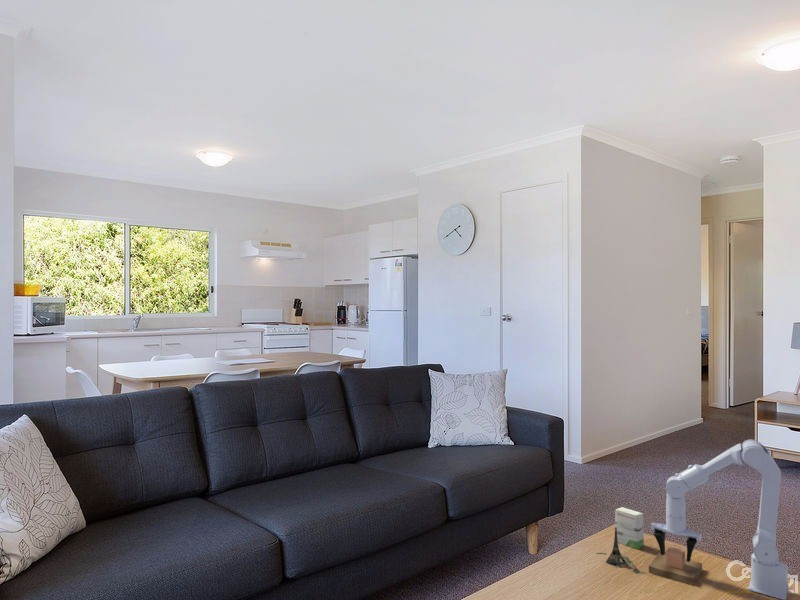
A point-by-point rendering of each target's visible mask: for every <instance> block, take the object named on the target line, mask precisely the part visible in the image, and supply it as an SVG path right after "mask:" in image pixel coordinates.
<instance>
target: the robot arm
mask: <svg viewBox="0 0 800 600" xmlns="http://www.w3.org/2000/svg"><path fill="white" fill-rule="evenodd" d="M744 463H745V464H746V465H748V466H749V467H751V468H753V469H755V470H756V471H757V472H758V473H759V474H760V475H761V477H762V480H761V488H760V490H761V491H760V501H759V511H758V520H757V528H756V532H755V534H754V535H753V536H752V538H751V539H752V540H751V544H752V546H753V553H751V555H750V581H749V584H748V587H747V590H748V591H749V592H750V591H751V592H754V593H757V594H761V595H765V596H769V597H773V598H776V599H779V600H787V596H788V591H789V584H788V583H789V569H788V568H789V566H788V564H785V563H782V562H781V561H780V559H779V557H780V554H779V550H778V548H777V524H778V516H779V503H780V494H781V493H780V492H781V483H782V472H781V469H780V467H779V466H778V464H777V462H776V461H775V459H774V458H773V456H772V455H771V453H770V452H769V450H768V448H766V446H764V445H763V444H762V443H761V442H759V441H758V440H755V439H746V440H744V441H743V442H742V443H738V444H735V445H734V446H732V447H730V448H728V449H726V450H725V451H723V452H721V453H720V454H719V455H717V456H716V457H714V458H712V459H710V460H709V461H707V462H706V463H704V464H703V465H701V464H698V463H697V464H696V463H695V464H694V465H693V464H689V465H688V466H687V469H684V470H683V471H681V472H676V473H675V474H674V475H672V476H670V477H669V478H668V479H667V480H666V484H665V491H666V501H665V523H660V522H659V523H658V522H652V523H651V525H650V526H651V527H650V529H651V531H654V533H653V535H654V539H656V541H657V544H658V547H659V552H660V553H661V555H664V554H666V544H665V543H666V533H667V534H671V535H675V536H678V537H679V536H680V537H683V538H687V539H686V542H685V543H686V559H687V562H690V560H691V559H692V554H693V551H694V549H695V546H696V544H697V542H701V540H702V533H701V532H697V531H695V530H691V529H688V528H686V527H687V525H686V523H687V522H686V521H687V520H686V519H687V514H686V512H687V508H686V507H687V502H686V493H687V492H688V491H692V490H694V489H695V488H698V487H699V486H700V485H702V484H704V483H707V482H708V481H709V477H710V475H712V474H714V473H716V472H718V471H720V470H722V469H724V468H726V467H728V466H729V465H732V464H733V465H738V466H739V465H740V466H743V465H744ZM691 561H692V560H691Z"/></svg>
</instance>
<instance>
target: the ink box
mask: <svg viewBox="0 0 800 600" xmlns="http://www.w3.org/2000/svg"><path fill="white" fill-rule="evenodd" d="M614 513H615V515H614V518H615V519H614V523H615V525H614V526H615V527H616V528H617V541H618V544H622V545H625V546H627V547H630V548H633V549H636V550H638V549H641V548H642V547H644V545H645V544H644V543H645V542H644V541H645V540H644V539H645V538H644V513H643V512H640V511H637V510H633V509H629V508H627V507H622V506H621V507H619V508H616V509H614ZM615 527H614V528H615Z"/></svg>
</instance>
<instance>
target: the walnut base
mask: <svg viewBox="0 0 800 600" xmlns="http://www.w3.org/2000/svg"><path fill="white" fill-rule="evenodd" d="M702 571H703V563H702V562H699V561H695V560H690V562H687V558H685V565H684V567H683V569H679V568H675V567H671V566H667V565H666V553H665V554H664V555H661V551H659V552H658V553H657V555H656V556H655V557H654V558H653V560H652V561H651V563H650V564H649V566H648V573H650V574H652V573H653V574H652V575H657V576H660V577H663V576H664V577H663V578H667V579H671V580H674V581H678V582H681V583H684V584H689V585H692V586H694V585H695V583H696V581H697V579H698V578H699V576H700V574H701V572H702Z"/></svg>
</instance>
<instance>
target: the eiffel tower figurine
mask: <svg viewBox="0 0 800 600" xmlns="http://www.w3.org/2000/svg"><path fill="white" fill-rule="evenodd" d="M596 555H605V556H607V553H606V552H596ZM604 563H605V564H608V565H610V566H613V567H615V568H619V569H620V568H622V567H624V566H625V565H628V566H630V567H633V568H634V569H633V570H632V573H634V574H637V575H639V574H642V572H640V570H639V569H638V568H637V567H636V566H635V564H634V563H633V562H632V561H631V559H630V558H629V557H627V556H625V555H623V553H621V551H620V547H619V543H618V541H617V528H616V527H614V540H613V547H612V550H611V553H610V554H609V557H608V558H607V559H606V561H605V562H604Z"/></svg>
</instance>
